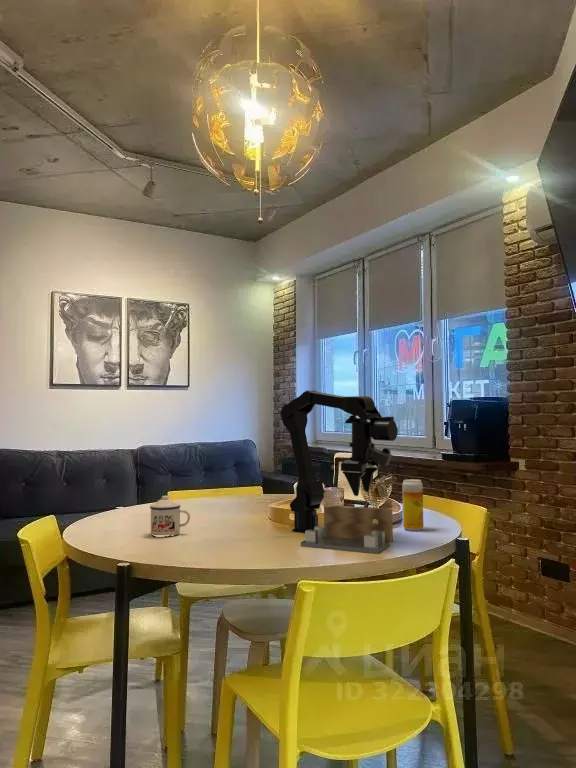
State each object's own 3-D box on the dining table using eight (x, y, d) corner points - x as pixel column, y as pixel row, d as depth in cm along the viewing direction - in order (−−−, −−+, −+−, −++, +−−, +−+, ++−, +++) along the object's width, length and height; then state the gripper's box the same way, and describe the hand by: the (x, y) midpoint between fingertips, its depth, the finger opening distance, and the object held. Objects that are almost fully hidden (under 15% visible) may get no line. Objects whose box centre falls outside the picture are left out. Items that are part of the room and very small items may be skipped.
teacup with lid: (147, 538, 174) (147, 498, 175) (153, 532, 183) (152, 494, 184) (188, 537, 175) (188, 497, 175) (191, 531, 184) (191, 493, 184)
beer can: (423, 531, 178) (422, 481, 178) (403, 531, 179) (402, 481, 180) (423, 527, 184) (422, 479, 184) (403, 527, 185) (402, 479, 186)
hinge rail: (300, 545, 161) (300, 531, 161) (315, 538, 170) (315, 524, 170) (377, 553, 151) (377, 537, 151) (389, 545, 160) (389, 530, 160)
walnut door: (322, 537, 172) (322, 506, 172) (327, 535, 175) (327, 504, 175) (389, 543, 163) (388, 511, 163) (392, 541, 166) (392, 509, 166)
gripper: (378, 442, 159) (378, 500, 158) (397, 438, 176) (397, 491, 175) (340, 440, 164) (340, 497, 163) (362, 437, 181) (361, 488, 180)
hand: (361, 493), depth 170 cm, fingers open, 9 cm apart
